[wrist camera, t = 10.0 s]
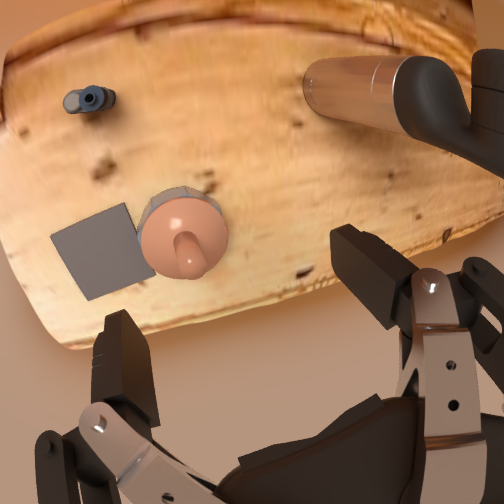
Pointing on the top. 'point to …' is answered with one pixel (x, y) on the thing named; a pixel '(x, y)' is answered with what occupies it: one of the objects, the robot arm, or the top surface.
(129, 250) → the mat
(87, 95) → the vaping device
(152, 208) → the bowl
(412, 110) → the robot arm
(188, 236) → the lid
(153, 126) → the top surface
